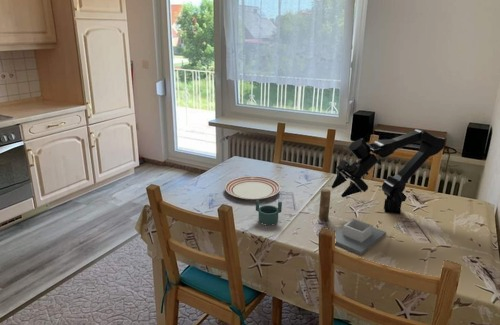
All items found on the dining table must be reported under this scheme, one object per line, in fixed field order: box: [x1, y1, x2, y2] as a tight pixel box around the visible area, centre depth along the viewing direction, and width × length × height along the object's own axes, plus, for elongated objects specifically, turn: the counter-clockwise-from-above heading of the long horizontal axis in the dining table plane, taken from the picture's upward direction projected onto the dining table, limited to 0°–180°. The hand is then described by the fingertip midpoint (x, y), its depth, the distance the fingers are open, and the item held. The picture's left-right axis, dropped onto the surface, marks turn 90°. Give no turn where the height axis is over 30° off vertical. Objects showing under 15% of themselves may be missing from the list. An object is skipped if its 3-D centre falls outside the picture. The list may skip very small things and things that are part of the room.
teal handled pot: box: [255, 199, 283, 226], centre depth 150 cm, size 9×9×9 cm
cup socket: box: [334, 218, 387, 256], centre depth 138 cm, size 20×14×5 cm
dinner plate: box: [224, 175, 282, 201], centre depth 179 cm, size 27×27×3 cm
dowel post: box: [318, 188, 332, 221], centre depth 152 cm, size 4×4×12 cm
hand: (336, 192), depth 151 cm, fingers open, 9 cm apart
